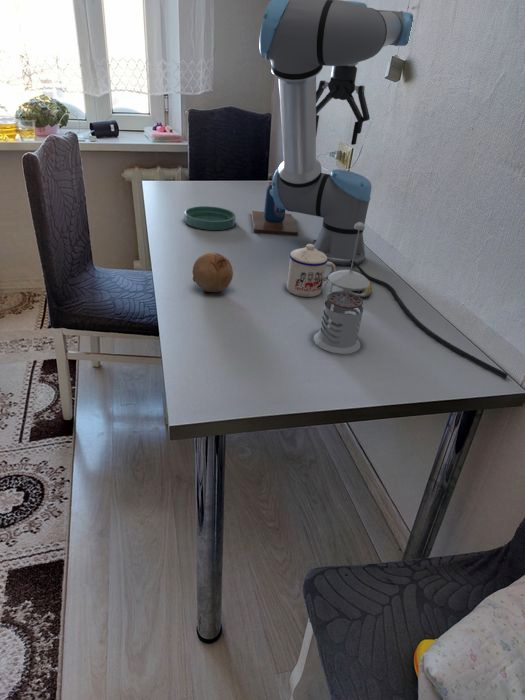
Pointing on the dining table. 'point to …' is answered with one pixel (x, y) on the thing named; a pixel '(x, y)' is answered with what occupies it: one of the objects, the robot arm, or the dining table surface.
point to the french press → (342, 310)
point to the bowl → (209, 218)
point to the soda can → (272, 208)
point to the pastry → (362, 291)
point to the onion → (212, 272)
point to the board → (273, 225)
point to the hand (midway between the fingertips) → (333, 140)
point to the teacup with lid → (307, 271)
